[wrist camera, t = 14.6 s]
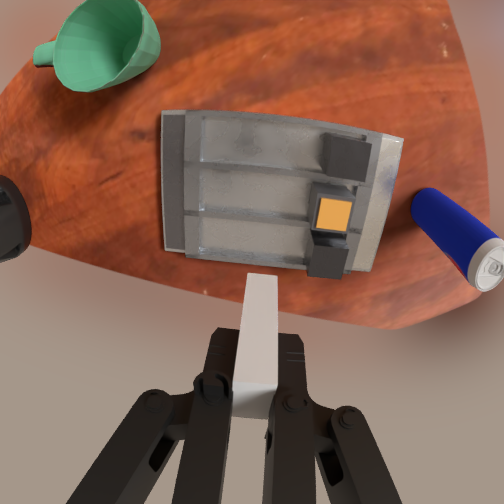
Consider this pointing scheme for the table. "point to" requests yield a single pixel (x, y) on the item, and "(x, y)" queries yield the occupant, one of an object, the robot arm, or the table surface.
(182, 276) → the table surface
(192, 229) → the panel
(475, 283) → the beverage can
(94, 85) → the mug
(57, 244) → the table surface
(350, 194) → the block
